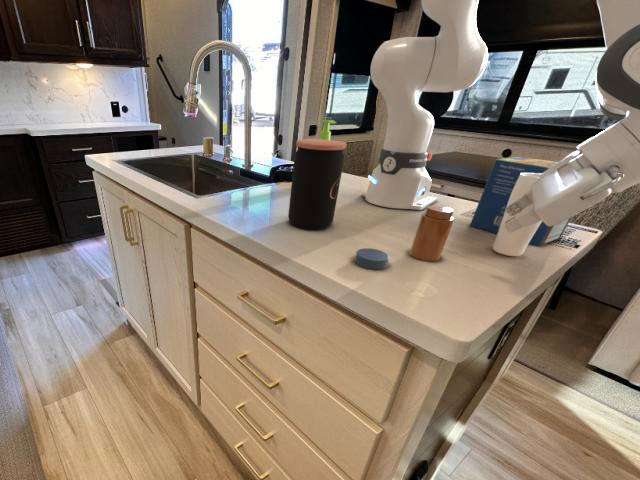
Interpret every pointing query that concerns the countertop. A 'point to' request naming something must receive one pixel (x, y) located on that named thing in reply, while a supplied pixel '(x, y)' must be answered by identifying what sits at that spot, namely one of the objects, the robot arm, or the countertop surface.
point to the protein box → (499, 194)
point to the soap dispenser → (326, 130)
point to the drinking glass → (520, 238)
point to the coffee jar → (315, 183)
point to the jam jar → (432, 233)
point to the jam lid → (371, 258)
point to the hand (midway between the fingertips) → (507, 219)
